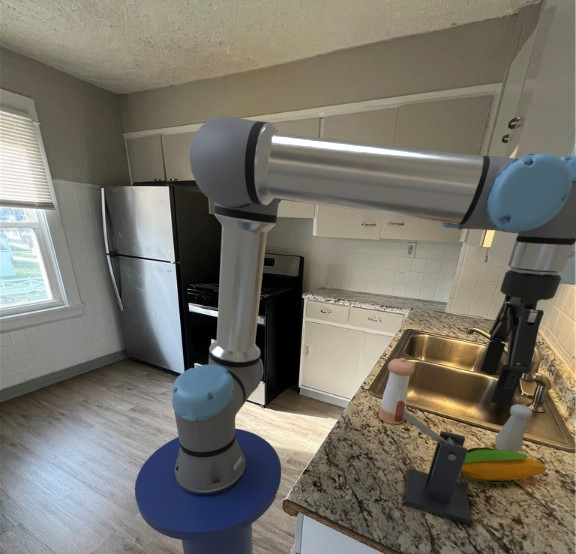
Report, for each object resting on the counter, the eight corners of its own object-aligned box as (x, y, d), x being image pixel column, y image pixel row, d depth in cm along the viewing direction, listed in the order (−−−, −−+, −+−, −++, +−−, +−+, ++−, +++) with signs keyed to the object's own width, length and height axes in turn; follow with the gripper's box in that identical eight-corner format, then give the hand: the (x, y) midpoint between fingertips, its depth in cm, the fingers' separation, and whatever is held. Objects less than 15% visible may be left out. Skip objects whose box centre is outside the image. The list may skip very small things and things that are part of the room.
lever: (391, 420, 60) (399, 412, 59) (394, 405, 66) (401, 397, 64) (453, 465, 59) (463, 458, 58) (451, 446, 64) (460, 439, 63)
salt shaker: (518, 460, 78) (538, 417, 72) (492, 452, 80) (509, 409, 75) (517, 447, 82) (536, 405, 77) (492, 439, 85) (508, 398, 79)
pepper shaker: (406, 415, 95) (419, 357, 86) (400, 427, 89) (414, 366, 81) (382, 407, 98) (392, 351, 90) (375, 418, 92) (385, 359, 84)
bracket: (404, 504, 65) (419, 447, 58) (407, 472, 73) (420, 419, 67) (469, 525, 61) (493, 466, 54) (464, 488, 69) (484, 434, 63)
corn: (454, 439, 72) (540, 441, 72) (445, 463, 76) (527, 464, 76) (470, 463, 66) (564, 465, 66) (459, 488, 69) (549, 490, 70)
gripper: (597, 286, 39) (534, 426, 48) (539, 264, 60) (503, 364, 69) (526, 281, 42) (479, 414, 51) (494, 261, 62) (465, 358, 72)
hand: (493, 386), depth 60 cm, fingers open, 13 cm apart
